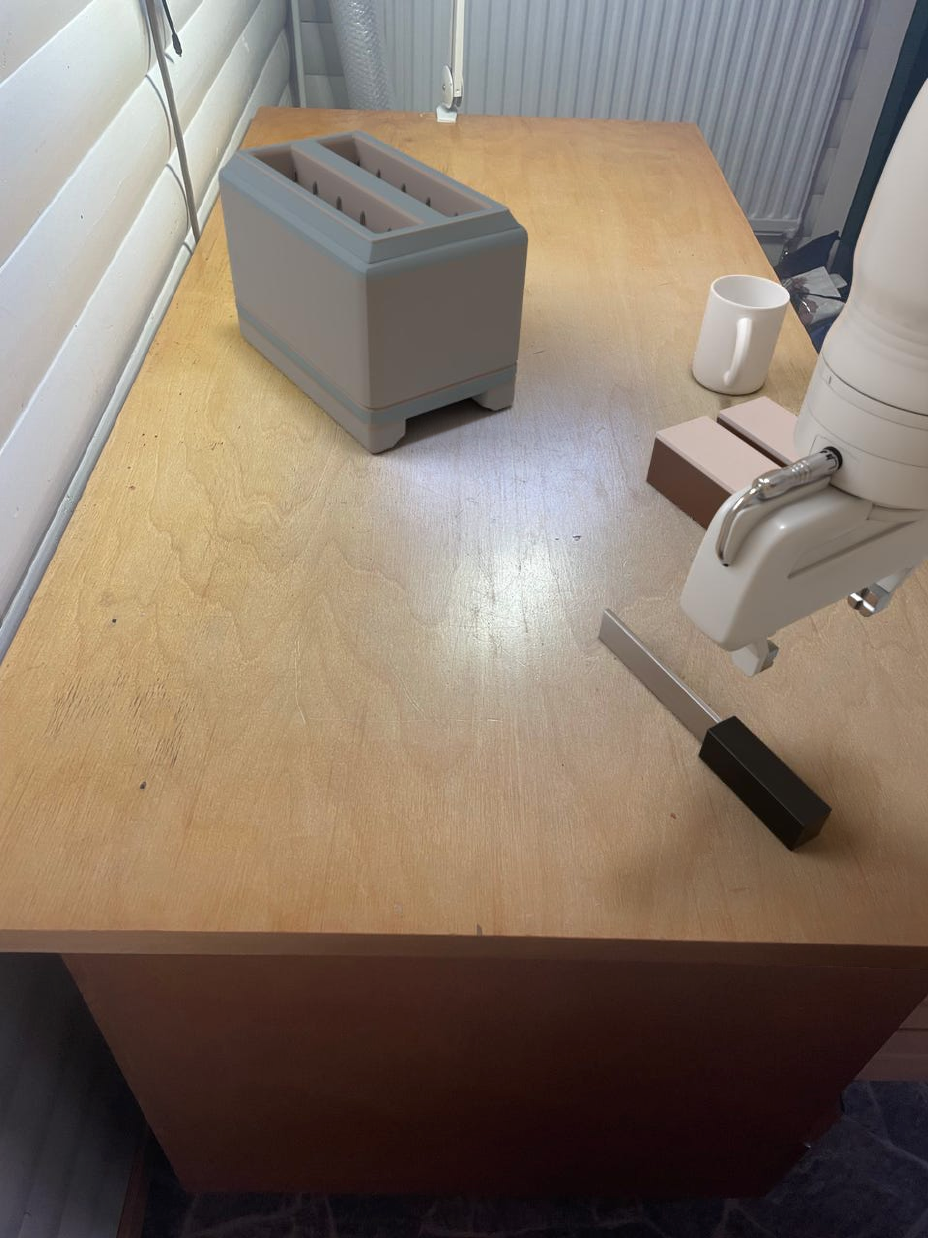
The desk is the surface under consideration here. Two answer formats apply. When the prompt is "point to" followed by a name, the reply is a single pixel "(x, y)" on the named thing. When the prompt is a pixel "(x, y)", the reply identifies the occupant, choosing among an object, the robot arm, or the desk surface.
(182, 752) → the desk surface
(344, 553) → the desk surface
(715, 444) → the cake
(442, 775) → the desk surface
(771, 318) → the mug
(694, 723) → the knife
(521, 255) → the toaster
